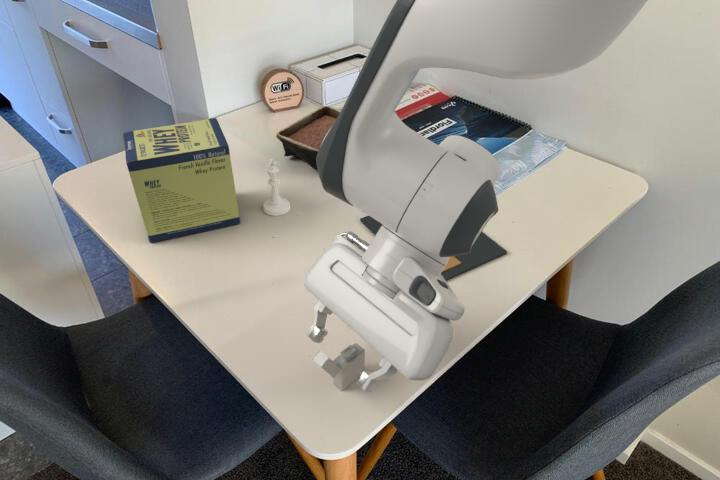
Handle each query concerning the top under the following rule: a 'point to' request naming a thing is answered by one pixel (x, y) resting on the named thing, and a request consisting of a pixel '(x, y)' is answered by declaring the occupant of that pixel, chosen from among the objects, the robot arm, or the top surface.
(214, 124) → the protein box
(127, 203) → the top surface
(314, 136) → the rectangular plant pot
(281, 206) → the chess piece
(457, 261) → the mat
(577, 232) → the top surface
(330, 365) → the lighter
